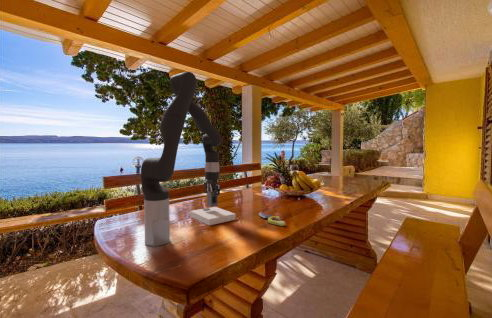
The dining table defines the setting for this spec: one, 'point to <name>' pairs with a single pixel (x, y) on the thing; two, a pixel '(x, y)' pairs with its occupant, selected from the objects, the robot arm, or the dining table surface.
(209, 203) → the gray knobbed square peg
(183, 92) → the robot arm
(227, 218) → the socket plate
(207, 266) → the dining table surface
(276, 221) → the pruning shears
